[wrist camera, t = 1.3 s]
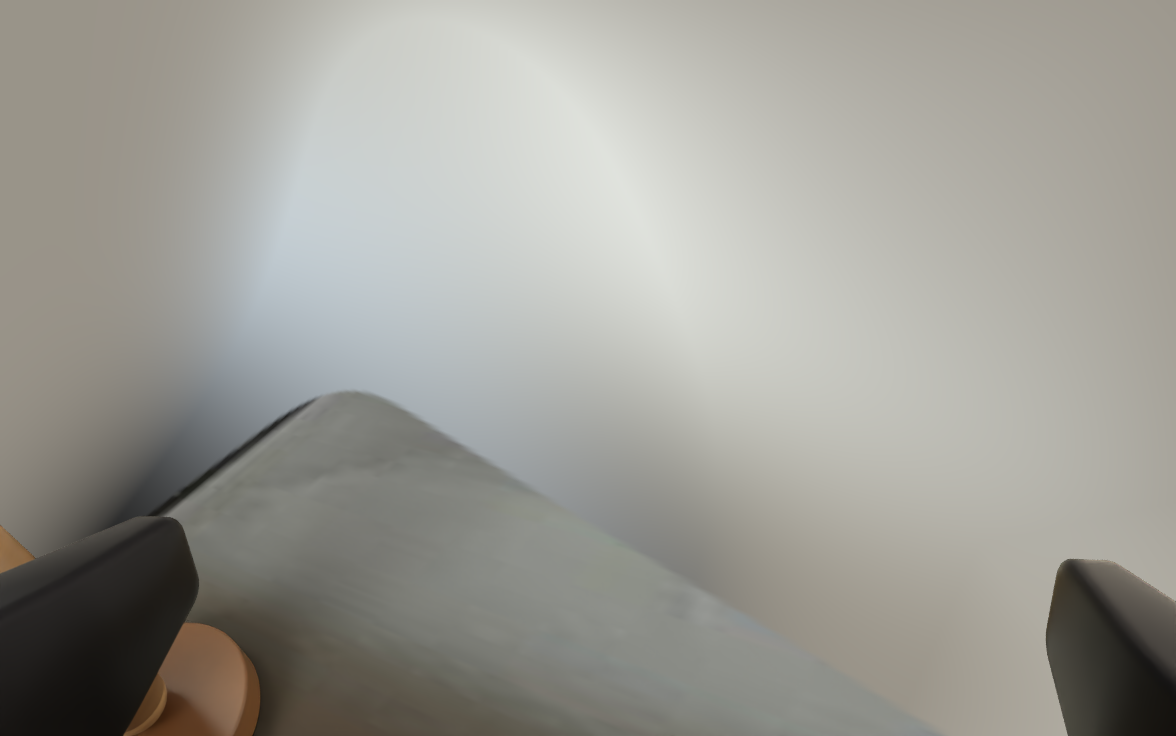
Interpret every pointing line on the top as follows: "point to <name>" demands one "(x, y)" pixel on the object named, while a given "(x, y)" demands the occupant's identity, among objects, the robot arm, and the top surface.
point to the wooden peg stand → (186, 678)
